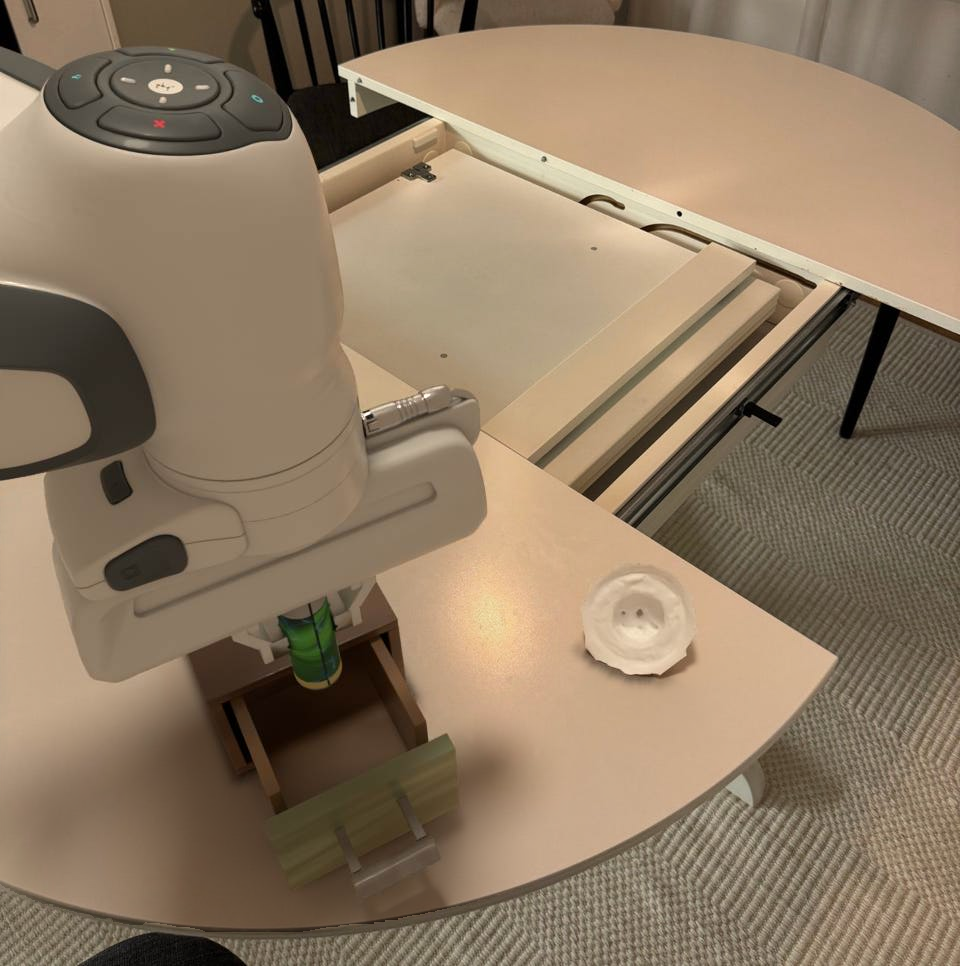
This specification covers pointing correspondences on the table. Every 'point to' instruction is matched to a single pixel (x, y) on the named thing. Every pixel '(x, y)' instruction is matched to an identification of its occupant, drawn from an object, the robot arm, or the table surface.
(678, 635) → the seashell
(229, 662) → the cabinet
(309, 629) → the battery
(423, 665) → the table surface
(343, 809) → the drawer
